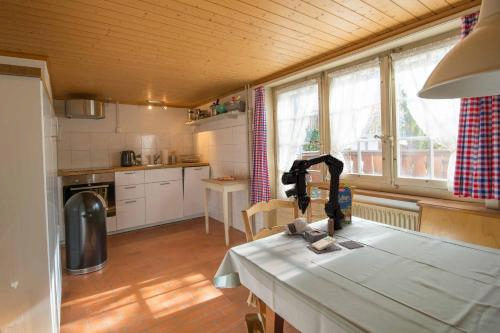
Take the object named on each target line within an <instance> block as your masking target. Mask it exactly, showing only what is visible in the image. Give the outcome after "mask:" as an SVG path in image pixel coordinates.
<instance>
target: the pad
mask: <svg viewBox="0 0 500 333" xmlns="http://www.w3.org/2000/svg"><path fill="white" fill-rule="evenodd" d="M338 244H339V245H341V246H342V247H345V248H347V249H348V250H353V249H358V248H359V249H360V248H363V247H365V245H363V244H361V243H359V242H357V241H355V240H346V241H340V242H338Z"/></svg>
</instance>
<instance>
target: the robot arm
mask: <svg viewBox="0 0 500 333" xmlns="http://www.w3.org/2000/svg"><path fill="white" fill-rule="evenodd" d="M322 163H323V164H325V165H326V166H327V168H328V169H327V170H328V173H329V175H330V180H329V193H328V201H327V202H325V203H324V209H323V210H324V212H325V214H326V217H327V218H328V219H333V231H339V230H344V227H343V226H342V225H343V224H342V219H344V214H343V213H342V212H341V209H340V205H339V202H338V193H339V183H340V177H341V175H342V173H343V172H344V168H345V167H344V166H345V165H344V162H343V161H342V160H340V159H339V158H337V157H335V156H333V155H332V154H330V153H322V154H321V155H315V156H313V157H309V158H304V159H294V160H293V161H292V165H291V167H290V168H289V170H288V171H283V174H282V175H281V178H280V180H281V183H282V185H283V186H289V185H293V187H292V188H289V189H287V190H285V191H284V194H285V196H286V198H287V199H290V198H291V197H293V198H294V199H295V201H296V202H297V208H298V211H301V215H305V214H306V211H307V209H308V206H309V204H310V202H311V197H310V196H309V195H308V192H307V188H308V186H307V176H306V175H310V172H309V171H307V170H308V169H310V167H312V166H316V165H318V164H322ZM329 217H330V218H329Z"/></svg>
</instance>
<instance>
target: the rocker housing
mask: <svg viewBox="0 0 500 333" xmlns="http://www.w3.org/2000/svg"><path fill="white" fill-rule="evenodd" d="M306 248H308V249H309V250H311V251H312V252H314V253H315V254H318V255H320V254H326V253H331V252H332V253H333V252H335V251H336V252H337V251H342V250H343V248H342V247H340V246H338V245H337V244H335V243H334V244H332V245H330V246H328V247H326V248H324V249H322V250H320V251H319V250H317V249H316V248H314V247H312V245H306Z"/></svg>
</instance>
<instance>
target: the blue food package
mask: <svg viewBox="0 0 500 333" xmlns="http://www.w3.org/2000/svg"><path fill="white" fill-rule="evenodd" d="M338 202H339V205H340V209H341V212H342V213H343V214H344V219H342V225H346V224H351V223H352V222H353V220H352V219H353V218H352V213H353V212H352V211H353V210H352V208H353V206H352V204H353V203H352V192H351V189H350V187H349V182H339V193H338ZM329 218H330V217H328V219H329Z"/></svg>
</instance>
